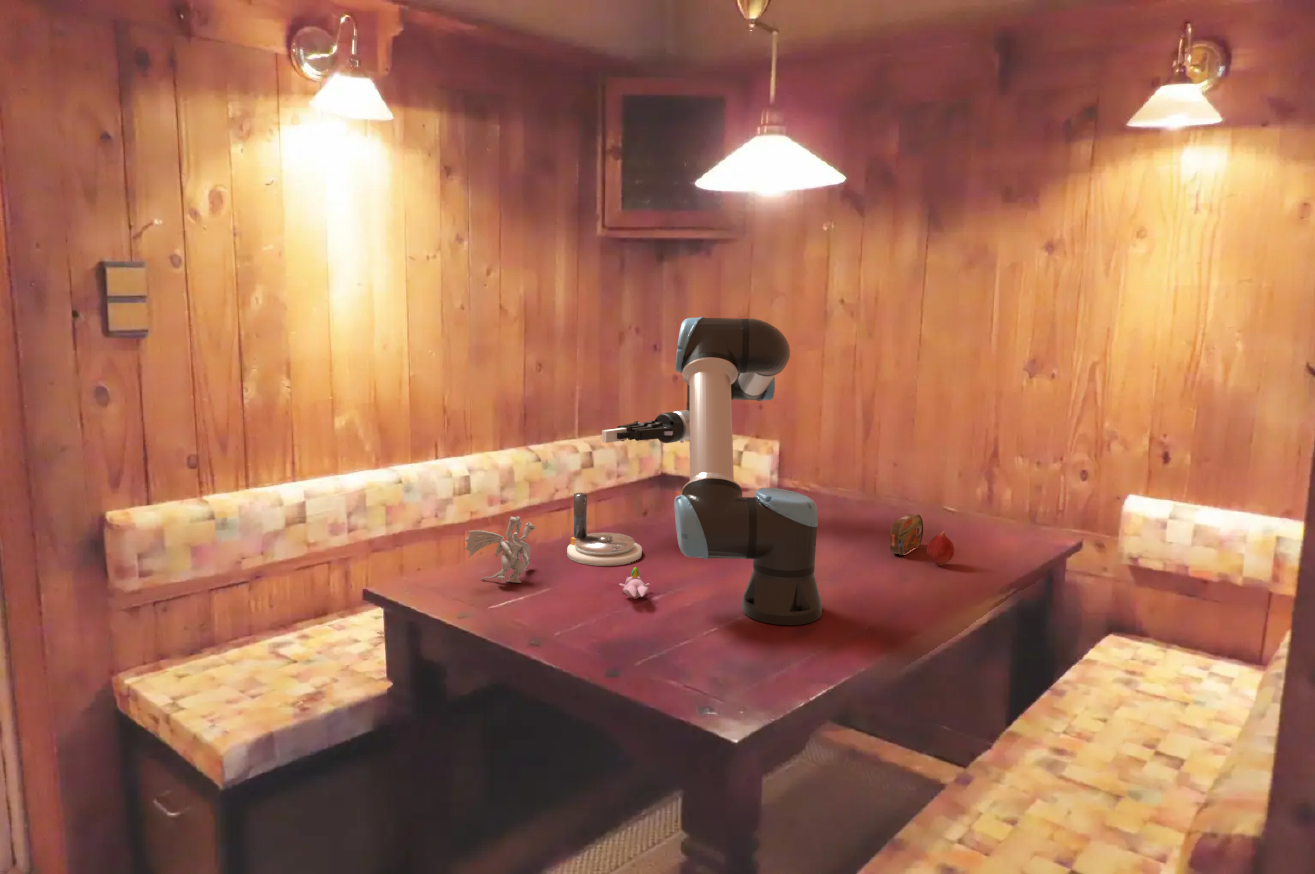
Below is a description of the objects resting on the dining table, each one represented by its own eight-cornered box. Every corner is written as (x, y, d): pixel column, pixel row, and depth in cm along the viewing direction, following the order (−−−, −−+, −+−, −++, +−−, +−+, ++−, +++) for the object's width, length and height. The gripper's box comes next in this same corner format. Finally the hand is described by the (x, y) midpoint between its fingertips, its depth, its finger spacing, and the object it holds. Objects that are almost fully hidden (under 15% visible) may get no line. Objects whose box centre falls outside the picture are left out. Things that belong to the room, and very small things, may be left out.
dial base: (620, 570, 198) (620, 557, 197) (553, 558, 205) (553, 546, 204) (654, 550, 213) (654, 537, 212) (590, 540, 220) (590, 528, 219)
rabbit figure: (617, 591, 189) (621, 605, 174) (618, 562, 189) (622, 574, 174) (648, 591, 189) (654, 605, 174) (648, 562, 189) (654, 573, 174)
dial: (641, 541, 213) (642, 492, 211) (623, 558, 200) (624, 506, 198) (584, 536, 217) (584, 487, 215) (562, 551, 204) (563, 500, 202)
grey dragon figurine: (453, 574, 185) (463, 507, 189) (519, 589, 198) (527, 526, 202) (484, 573, 178) (494, 504, 182) (550, 588, 191) (558, 523, 195)
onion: (923, 567, 205) (926, 532, 203) (928, 560, 210) (931, 526, 208) (950, 571, 202) (953, 536, 201) (955, 564, 207) (957, 530, 206)
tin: (898, 559, 210) (901, 524, 209) (885, 557, 212) (888, 521, 210) (923, 545, 222) (925, 512, 220) (910, 543, 224) (913, 509, 222)
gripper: (693, 445, 224) (623, 456, 207) (655, 438, 233) (585, 448, 216) (694, 414, 223) (623, 424, 206) (656, 408, 232) (585, 417, 215)
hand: (604, 436), depth 211 cm, fingers closed
